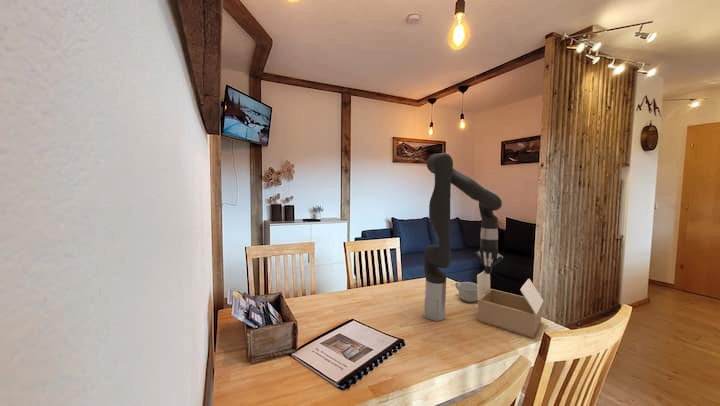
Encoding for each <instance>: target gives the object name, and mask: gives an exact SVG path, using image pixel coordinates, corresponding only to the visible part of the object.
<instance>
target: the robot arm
mask: <svg viewBox="0 0 720 406" xmlns="http://www.w3.org/2000/svg"><path fill="white" fill-rule="evenodd" d="M426 167H427V170H429V172H430V173H431V174H434V187H433V192H432V193H431V196H430V200H429V205H428V208H429V209H428V218H429V221H430V224H431V226H432V228H433V229H434V232H435V233H436V236H437V240H438V241H437V242H438V245H435V244H430V245H428V246H427V247H426V248H425V250H424V255H423V257H424V259H423V261H424V264H423V265H424V275H425V287H424V288H425V292H424V307H423V309H424V310H423V311H424V312H423V314H424V315H423V317H424V318H426V319H428V320H431V321H433V322H438V321H443V320H444V319H446V294H447V293H446V292H447V275H446V274H445V272H443V271H442V270H441V269H447V268H448V267H449V266H450V264H451V261H452V247H451V245H452V244H451V196H452V195H451V193H452V190H451V189H452V188H451V187H452V186H451V185H454V186H455V187H456V188H457V189H458V190H460V191H461V192H462V193H464V194H465V195H467V196H468V197H469V198H471V199H472V200H474V201H476V202H478V208H479V209H478V210H479V213H480V218H481V220H480V221H481V226H480V227H481V228H480V243H479V245H480V246H479V247H480V248H479V249H478V251H476V252H474V256H475V257H476V258H477V260H478V261H479V263H480V264H481V265H484V270H485V272H486V274H490V275H491V274H492V271H493V269H492V268H493V267H495V266H496V265H497V264H498V263H499V262H500V261H501V260H502V259H504V255H501V254H500V253H499V250H498V248H499V243H498V242H499V230H498V228H499V227H498V226H499V225H498V224H499V218H498V217H497V216H496V215H495V214H494V211H497V210H500V209H501V207H502V206H503V201H502V199H501V198H500V197H499V196H498V195H497V194H496V193H494V192H492V191H490V190H489V189H486V188H485V187H483V186H482V185H481V184H479V183H478V182H477V181H476V180H474V179H472V178H470V177H469V176H467V175H465V174H464V173H461V172H459V171H457V170H456V169H455V168H454V161H453V158H452V156H451V155H450V154H449V153H446V152H441V153H440V152H439V153H433V154H431V155H429V156H428V158H427V160H426ZM495 258H496V260H495V261H494V259H495Z"/></svg>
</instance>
